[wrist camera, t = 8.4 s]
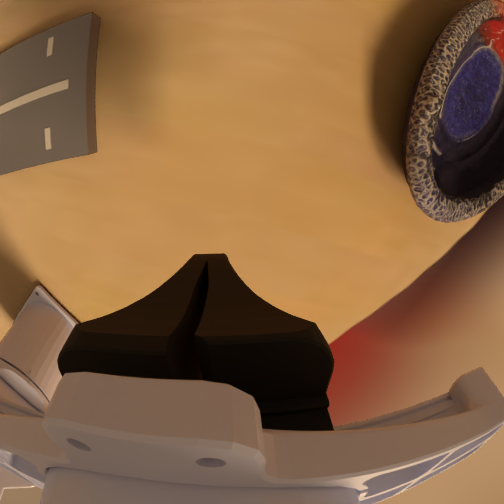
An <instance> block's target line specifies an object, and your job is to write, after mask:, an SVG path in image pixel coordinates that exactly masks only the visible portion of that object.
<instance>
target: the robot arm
mask: <svg viewBox="0 0 504 504" xmlns="http://www.w3.org/2000/svg"><path fill="white" fill-rule="evenodd" d="M333 368H334V359H333V356H332V352H331V350H330V347H329V345H328V343H327V341H326V340H325V338H324V336H323V334H322V333H321V331H320V330H319V328H318V327H317V325H316V324H315V323H314V322H311V321H308V320H305V319H302V318H299V317H296V316H293V315H291V314H288V313H286V312H284V311H282V310H280V309H278V308H276V307H274V306H272V305H271V304H269V303H268V302H266V301H265V300H263V299H262V298H260V297H259V296H257V295H256V294H255V293H254V292H253V291H252V290H251V289H250V288H249V287H248V286H247V285H246V284H245V283H244V282H243V281H242V280H241V278H240V277H239V276H238V275H237V273H236V272H235V270H234V269H233V267H232V266H231V264H230V262H229V260H228V257H227V255H226V254H195V255H193V256H192V257H191V258H190V259H189V260H188V261H187V262H186V264H185V265H184V266H183V267H182V268H181V269H180V270H179V271H178V272H176V273H175V274H174V275H173V276H172V277H171V278H170V279H168V280H167V281H166V282H165V283H164V284H163V285H161V286H160V287H159V288H157V289H156V290H155V291H153V292H152V293H150V294H149V295H147V296H145V297H144V298H142V299H140V300H138V301H137V302H135V303H133V304H131V305H129V306H127V307H125V308H123V309H121V310H118V311H116V312H114V313H111V314H108V315H106V316H103V317H100V318H97V319H93V320H90V321H86V322H83V323H78V322H77V321H76V320H75V319H74V318H73V317H72V316H71V315H70V314H69V313H68V312H66V311H65V310H64V309H63V308H62V307H61V306H60V305H59V304H58V303H57V302H56V301H55V300H54V299H53V298H52V297H51V296H50V295H49V293H48V292H47V291H46V290H45V289H44V288H43V287H42V286H40V285H37V286H36V288H35V289H34V291H33V292H32V294H31V295H30V297H29V298H28V300H27V301H26V303H25V304H24V306H23V307H22V309H21V311H20V312H19V314H18V316H17V317H16V319H15V321H14V322H13V325H12V327H11V328H10V329H9V331H8V332H7V333H6V335H5V336H4V338H3V339H2V340H1V342H0V500H1V497H2V493H3V491H4V489H7V488H30V487H35V486H37V487H39V488H40V489H43V492H42V496H41V501H40V504H375V503H377V502H380V501H383V500H385V499H387V498H390V497H392V496H395V495H397V494H399V493H401V492H404V491H406V490H408V489H410V488H412V487H414V486H416V485H418V484H420V483H422V482H424V481H426V480H428V479H430V478H432V477H434V476H436V475H437V474H439V473H441V472H443V471H445V470H446V469H448V468H450V467H452V466H453V465H455V464H456V463H458V462H460V461H461V460H463V459H465V458H466V457H468V456H470V455H471V454H473V453H474V452H476V451H477V449H479V448H480V447H481V446H482V445H483V444H485V443H486V442H487V441H488V440H489V439H490V438H491V437H492V436H493V435H494V434H495V433H496V432H497V431H498V430H499V429H500V428H501V427H502V426H503V425H504V397H503V396H502V394H501V393H500V391H499V390H498V388H497V387H496V386H495V384H494V383H493V381H492V380H491V379H490V377H489V376H488V374H487V373H486V372H485V370H484V369H483V368H482V367H479V368H477V369H475V370H472V371H470V372H468V373H465V374H463V375H462V376H460V377H459V378H458V379H457V380H456V381H455V382H454V383H453V385H452V386H451V388H450V390H449V392H448V393H445V394H443V395H440V396H438V397H435V398H433V399H430V400H428V401H425V402H422V403H419V404H416V405H414V406H411V407H408V408H405V409H401V410H398V411H395V412H392V413H389V414H385V415H381V416H378V417H374V418H370V419H366V420H362V421H358V422H354V423H349V424H345V425H340V426H335V427H333V425H332V422H331V419H330V416H329V413H328V409H327V408H328V407H329V400H328V397H327V394H326V391H327V388H328V385H329V382H330V379H331V376H332V373H333Z"/></svg>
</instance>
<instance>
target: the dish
mask: <svg viewBox="0 0 504 504" xmlns="http://www.w3.org/2000/svg"><path fill="white" fill-rule="evenodd" d="M402 158H403V169H404V173H405V177H406V181H407V183H408V185H409V187H410V191H411V194H412V196H413V198H414V200H415V202H416V204H417V206H418V207H419V208H420V209H421V210H422V211H423V212H424V213H425V214H426V215H427V216H429V217H431V218H432V219H434V220H436V221H440V222H446V223H449V222H458V221H462V220H465V219H468V218H471V217H473V216H475V215H477V214H479V213H481V212H483V211H484V210H486V209H487V208H488V207H490V206H491V205H493V204H494V203H495V202H496V201H497V200H498V199H499V198H501V197H502V196H503V195H504V2H502V1H500V0H475V1H473V2H471V3H469V4H467V5H466V6H465V7H464V8H462V9H461V10H460V11H459V12H458V13H457V14H456V15H455V16H454V17H453V18H452V19H451V21H450V22H449V23H448V24H447V25H446V27H445V28H444V29H443V31H442V32H441V33H440V35H439V36H438V37H437V39H436V41H435V42H434V44H433V46H432V47H431V49H430V51H429V53H428V55H427V57H426V59H425V61H424V63H423V65H422V67H421V70H420V72H419V75H418V77H417V79H416V82H415V85H414V88H413V91H412V94H411V97H410V101H409V106H408V110H407V114H406V119H405V126H404V132H403V145H402Z"/></svg>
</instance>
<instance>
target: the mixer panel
mask: <svg viewBox="0 0 504 504" xmlns="http://www.w3.org/2000/svg"><path fill="white" fill-rule="evenodd" d="M99 26H100V17H98V16H97V15H96V14H94V13H93V12H92V13H89V14H86V15H83V16H80V17H77V18H75V19H72V20H69V21H67V22H64V23H62V24H59V25H57V26H54V27H52V28H50V29H47V30H45V31H43V32H41V33H39V34H37V35H34V36H32V37H30V38H28V39H26V40H24V41H23V42H21V43H19V44H17V45H15V46H13V47H11V48H10V49H8V50H6V51H5V52H3V53H1V54H0V175H3V174H7V173H10V172H14V171H17V170H21V169H25V168H29V167H33V166H37V165H41V164H45V163H49V162H54V161H59V160H63V159H68V158H74V157H79V156H84V155H89V154H93V153H96V152H97V140H96V117H95V80H96V58H97V45H98V34H99Z"/></svg>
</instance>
